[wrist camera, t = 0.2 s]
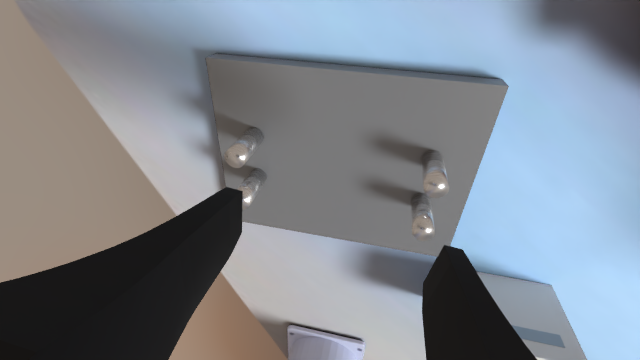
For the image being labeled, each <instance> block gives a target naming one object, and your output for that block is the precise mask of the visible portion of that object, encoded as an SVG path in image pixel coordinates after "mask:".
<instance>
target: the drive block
mask: <svg viewBox="0 0 640 360" xmlns="http://www.w3.org/2000/svg"><path fill="white" fill-rule="evenodd" d="M476 272H477V271H476ZM477 274H478V275H479V277H480V279H481V280H482V282H483V283H484V285H485V287H486V288H487V290H488V291H489V293H490V295H491V296H492V298H493V299H494V301H495V302H496V304H497V305H498V307H499V308H500V310H501V311H502V313H503V314H504V316H505V317H506V318H507V320H508V321H509V323H510V324H511V325H512V327H513V328H514V330H515V331H516V332H517V334H518V335H519V336H520V338H521V339H522V341H523V342H524V343H525V345H526V346H527V347H528V348H529V350H530V351H531V352H532V354H533V355H534V356H535V357H536V359H537V360H587V358H586V356H585V354H584V352H583V350H582V348H581V346H580V344H579V342H578V340H577V338H576V335H575V333H574V331H573V329H572V327H571V325H570V323H569V321H568V319H567V317H566V315H565V312H564V310H563V308H562V306H561V304H560V302H559V300H558V298H557V296H556V294H555V291H554V289H553V287H552V285H547V284H542V283H537V282H531V281H526V280H520V279H515V278H509V277H504V276H498V275H493V274H488V273H482V272H477Z"/></svg>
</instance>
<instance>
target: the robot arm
mask: <svg viewBox="0 0 640 360" xmlns="http://www.w3.org/2000/svg"><path fill="white" fill-rule="evenodd" d="M242 199H243V191H240V190H237V189H233V188H229V187H226V188H224V189H222V190H221V191H219V192H217V193H215V194H214V195H212V196H210V197H209V198H207V199H205V200H204V201H202V202H200V203H199V204H197V205H195V206H194V207H192V208H190V209H188V210H187V211H185V212H183V213H182V214H180V215H178V216H176V217H174V218H173V219H171V220H169V221H167V222H165V223H163V224H161V225H159V226H157V227H156V228H153V229H152V230H150V231H148V232H146V233H144V234H141V235H139V236H137V237H135V238H133V239H130V240H128V241H126V242H123V243H121V244H119V245H116V246H114V247H111V248H109V249H106V250H104V251H101V252H98V253H95V254H93V255H90V256H87V257H85V258H82V259H79V260H76V261H73V262H70V263H68V264H64V265H61V266H58V267H55V268H52V269H49V270H45V271H42V272H38V273H35V274H32V275H28V276H24V277H21V278H17V279H13V280H10V281H5V282H1V283H0V360H168V359H169V357H170V355H171V353H172V351H173V349H174V347H175V346H176V344H177V342H178V340H179V338H180V336H181V334H182V332H183V330H184V329H185V327H186V325H187V322H188V321H189V319H190V318H191V316H192V314H193V313H194V311H195V309H196V308H197V306H198V305H199V303H200V302H201V300H202V299H203V297H204V296H205V294H206V292H207V291H208V289H209V288H210V286H211V285H212V283H213V282H214V280H215V279H216V277H217V276H218V274H219V273H220V271H221V270H222V268H223V267H224V265H225V264H226V262H227V260H228V259H229V257H230V256H231V254H232V252H233V250H234V248H235V246H236V244H237V241H238V239H239V237H240V235H241V233H242ZM422 314H423V326H424V338H425V348H426V359H427V360H537V359H536V357H535V356H534V355H533V354H532V352H531V351H530V350H529V348H528V347H527V346H526V345H525V343H524V342H523V341H522V339H521V338H520V336H519V335H518V334H517V332H516V331H515V330H514V328H513V327H512V325H511V324H510V323H509V321H508V320H507V318H506V317H505V316H504V314H503V313H502V311H501V310H500V308H499V307H498V305H497V304H496V302H495V301H494V299H493V298H492V296H491V295H490V293H489V291H488V290H487V288H486V287H485V285H484V283H483V282H482V280H481V279H480V277H479V275H478V274H477V272H476V271H475V269H474V267H473V266H472V264H471V262H470V261H469V259H468V258H467V256H466V254H465V253H464V251H463V250H462V249H458V248H454V247H451V246H447V245H444V246H443V248H442V250H441V252H440V253H439V255H438V257H437V259H436V261H435V263H434V264H433V266H432V268H431V270H430V272H429V274H428V275H427V277H426V279H425V281H424V283H423V303H422ZM287 338H288V360H363V355H364V350H365V343H364V342H363V341H360V340H355V339H351V338H347V337H342V336H338V335H334V334H329V333H325V332H321V331H316V330H312V329H307V328H303V327H299V326H294V325H289V326H288V329H287Z"/></svg>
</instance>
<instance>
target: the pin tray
mask: <svg viewBox="0 0 640 360" xmlns="http://www.w3.org/2000/svg"><path fill="white" fill-rule="evenodd" d="M206 64H207V70H208V76H209V83H210V89H211V95H212V102H213V108H214V114H215V121H216V127H217V133H218V140H219V146H220V152H221V159H222V165H223V171H224V178H225V184H226V187H229V188H233V189H237V190H240V191H243V199H242V222H248V223H253V224H259V225H264V226H270V227H275V228H281V229H286V230H292V231H298V232H303V233H309V234H314V235H320V236H325V237H331V238H337V239H342V240H348V241H353V242H359V243H364V244H370V245H375V246H381V247H387V248H392V249H398V250H403V251H409V252H414V253H420V254H425V255H431V256H437V257H438V255H439V253H440V252H441V250H442V248H443V246H444V245H447V246H450V244H451V242H452V239H453V236H454V233H455V231H456V228H457V225H458V223H459V220H460V217H461V214H462V212H463V209H464V206H465V204H466V201H467V198H468V195H469V193H470V190H471V187H472V184H473V182H474V179H475V176H476V174H477V171H478V168H479V165H480V163H481V160H482V157H483V155H484V152H485V149H486V146H487V144H488V141H489V138H490V136H491V133H492V130H493V127H494V125H495V122H496V119H497V116H498V114H499V111H500V108H501V106H502V103H503V100H504V97H505V95H506V92H507V89H508V87H509V86H508V85H507V84H506V83H505V82H504V81H503V80H502V79H492V78H481V77H470V76H459V75H448V74H437V73H426V72H415V71H404V70H393V69H382V68H371V67H360V66H349V65H338V64H327V63H316V62H305V61H294V60H283V59H272V58H261V57H250V56H239V55H228V54H217V53H215V54H213V55H211V56H209V57H206Z"/></svg>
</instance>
